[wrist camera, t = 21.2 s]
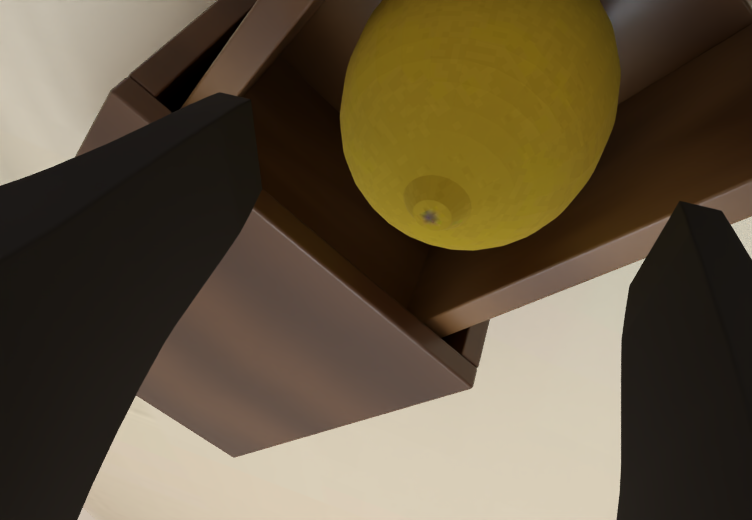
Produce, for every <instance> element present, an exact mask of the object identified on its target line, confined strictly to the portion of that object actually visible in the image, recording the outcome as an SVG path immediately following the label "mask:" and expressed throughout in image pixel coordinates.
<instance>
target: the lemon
mask: <svg viewBox="0 0 752 520" xmlns="http://www.w3.org/2000/svg"><path fill="white" fill-rule="evenodd" d="M620 79H621V68H620V61H619V56H618V50H617V45H616V40H615V34H614V29H613V26H612V24H611V21H610V19H609V17H608V15H607V13H606V12H605V10H604V8H603V6H602V4H601V2H600V0H382V1H381V3H380V4H379V5H378V6H377V7H376V9H375V10H374V11H373V12H372V14H371V16H370V17H369V19H368V21H367V23H366V25H365V27H364V29H363V31H362V34H361V36H360V38H359V40H358V42H357V44H356V46H355V48H354V51H353V53H352V55H351V57H350V61H349V64H348V67H347V71H346V76H345V82H344V88H343V95H342V102H341V109H340V127H341V136H342V144H343V152H344V155H345V158H346V161H347V164H348V166H349V169H350V171H351V174H352V176H353V179H354V182H355V184H356V185H357V187H358V188H359V190H360V191H361V192H362V194H363V195H364V197H365V198H366V200H367V201H368V202H369V204H370V205H371V206H372V208H373V209H374V210H375V211H376V212H377V213H379V214H380V215H381V216H382V217H383V218H384V219H385V220H386V221H387V222H388V223H389V224H391V225H392V226H394V227H395V228H397V229H398V230H400V231H401V232H403V233H404V234H406V235H408V236H410V237H412V238H415V239H417V240H419V241H422V242H424V243H427V244H429V245H433V246H438V247H442V248H447V249H451V250H472V251H474V250H481V249H487V248H494V247H500V246H504V245H507V244H510V243H512V242H515V241H518V240H520V239H523V238H526V237H528V236H529V235H531V234H533V233H535V232H536V231H538V230H539V229H541V228H542V227H544V226H545V225H547V224H548V223H549V222H551V221H552V220H554V219H555V218H557V217H558V216H559V215H560V214H561V213H562V212H563V211H564V210H565V209H566V208H567V206H568V205H569V204H570V203H571V202H572V200H573V199H574V198H575V197H576V196H577V194H578V193H579V192H580V191H581V190H582V188H583V187H584V186H585V184H586V183H587V182H588V180H589V179H590V177H591V175H592V174H593V172H594V170H595V168H596V166H597V164H598V162H599V160H600V157H601V155H602V153H603V150H604V148H605V146H606V143H607V141H608V139H609V136H610V134H611V132H612V129H613V126H614V123H615V118H616V113H617V105H618V96H619V88H620Z"/></svg>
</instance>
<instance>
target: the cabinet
mask: <svg viewBox="0 0 752 520" xmlns="http://www.w3.org/2000/svg"><path fill="white" fill-rule="evenodd" d="M256 1H257V0H218V1H217V2H215V3H214V4H213V5H212V6H211V7H209V8H208V9H207V10H206V11H205V12H203V13H202V14H201V15H200V16H199V17H197V18H196V19H195V20H194V21H193V22H191V23H190V24H189V25H188V26H187V27H185V28H184V29H183V30H182V31H181V32H179V33H178V34H177V35H176V36H175V37H173V38H172V39H171V40H170V41H169V42H167V43H166V44H165V45H164V46H163V47H161V48H160V49H159V50H158V51H157V52H155V53H154V54H153V55H152V56H151V57H149V58H148V59H147V60H146V61H145V62H143V63H142V64H141V65H140V66H139V67H137V68H136V69H135V70H134V71H133V72H131V73H130V74H129V76H128V77H127V78H125V79H124V80H123V81H121V82H120V83H119V84H118V85H117V86H115V87H114V88H113V89H112V90H111V91H110V93H109V94H108V96H107V98H106V100H105V102H104V104H103V106H102V108H101V109H100V111H99V113H98V115H97V117H96V119H95V121H94V122H93V124H92V126H91V128H90V130H89V132H88V134H87V136H86V137H85V139H84V141H83V143H82V145H81V147H80V149H79V150H78V152H77V154H76V156H75V157H77V156H79V155H82V154H84V153H86V152H89V151H91V150H93V149H96V148H98V147H100V146H103V145H105V144H107V143H110V142H112V141H114V140H116V139H118V138H120V137H123V136H125V135H127V134H129V133H131V132H133V131H135V130H137V129H139V128H142V127H144V126H146V125H148V124H150V123H152V122H154V121H156V120H158V119H160V118H163V117H165V116H167V115H169V114H171V113H173V112H175V111H177V110H179V109H180V108H181V107H182V106H183V104H184V103H185V101H186V100H187V99H188V97H189V96H190V94H191V93H192V91H193V90H194V89H195V87H196V86H197V84H198V83H199V82H200V80H201V79H202V77H203V76H204V75H205V73H206V72H207V70H208V69H209V67H210V66H211V65H212V63H213V62H214V60H215V59H216V58H217V56H218V55H219V53H220V52H221V51H222V49H223V48H224V46H225V45H226V43H227V42H228V41H229V39H230V38H231V36H232V35H233V34H234V32H235V31H236V29H237V28H238V27H239V25H240V24H241V22H242V21H243V19H244V18H245V17H246V15H247V14H248V12H249V11H250V10H251V8H252V7H253V5H254V4H255V3H256ZM489 321H490V319H488V320H486V321H483V322H481V323H478V324H476V325H473V326H471V327H468V328H465V329H463V330H460V331H458V332H455V333H453V334H450V335H448V336H445V337H442V338H440V337H439V336H438V335H437V334H436V333H434V332H433V331H432V330H431V329H430V328H428V327H427V326H426V325H425V324H424V323H422V322H421V321H420V320H419V319H418V318H417V317H415V316H414V315H413V314H412V313H411V312H409V311H408V310H407V309H406V308H405V307H403V306H402V305H401V304H400V303H399V302H397V301H396V300H395V299H394V298H393V297H392V296H390V295H389V294H388V293H387V292H386V291H384V290H383V289H382V288H381V287H380V286H378V285H377V284H376V283H375V282H374V281H372V280H371V279H370V278H369V277H368V276H367V275H365V274H364V273H363V272H362V271H361V270H359V269H358V268H357V267H356V266H355V265H353V264H352V263H351V262H350V261H349V260H348V259H346V258H345V257H344V256H343V255H342V254H340V253H339V252H338V251H337V250H336V249H334V248H333V247H332V246H331V245H330V244H328V243H327V242H326V241H325V240H324V239H323V238H321V237H320V236H319V235H318V234H317V233H315V232H314V231H313V230H312V229H311V228H309V227H308V226H307V225H306V224H305V223H303V222H302V221H301V220H300V219H299V218H298V217H296V216H295V215H294V214H293V213H292V212H290V211H289V210H288V209H287V208H286V207H284V206H283V205H282V204H281V203H280V202H278V201H277V200H276V199H275V198H274V197H273V196H271V195H270V194H269V193H268V192H267V191H265V190H264V189H263V188H262V190H261V192H260V195H259V197H258V199H257V201H256V203H255V205H254V207H253V209H252V211H251V213H250V215H249V217H248V219H247V221H246V223H245V225H244V227H243V228H242V230H241V232H240V234H239V235H238V237H237V238H236V240H235V241H234V243H233V244H232V246H231V247H230V249H229V250H228V252H227V253H226V254H225V256H224V257H223V259H222V260H221V262H220V263H219V265H218V266H217V267H216V269H215V270H214V272H213V273H212V274H211V276H210V277H209V279H208V280H207V282H206V283H205V284H204V286H203V287H202V289H201V290H200V291H199V293H198V294H197V296H196V297H195V299H194V300H193V301H192V303H191V304H190V306H189V307H188V308H187V310H186V311H185V313H184V314H183V316H182V317H181V318H180V320H179V321H178V323H177V324H176V326H175V327H174V329H173V330H172V332H171V334H170V335H169V337H168V338H167V340H166V341H165V343H164V345H163V346H162V348H161V350H160V352H159V354H158V356H157V357H156V359H155V361H154V363H153V365H152V366H151V368H150V370H149V372H148V374H147V376H146V377H145V379H144V381H143V383H142V385H141V386H140V388H139V390H138V392H137V394H136V396H138V397H140V398H141V399H143V400H144V401H146V402H147V403H149V404H151V405H152V406H154V407H155V408H157V409H158V410H160V411H161V412H163V413H165V414H166V415H168V416H169V417H171V418H172V419H174V420H176V421H177V422H179V423H180V424H182V425H183V426H185V427H186V428H188V429H190V430H191V431H193V432H194V433H196V434H197V435H199V436H201V437H202V438H204V439H205V440H207V441H208V442H210V443H212V444H213V445H215V446H216V447H218V448H219V449H221V450H222V451H224V452H226V453H227V454H229V455H230V456H232V457H238V456H241V455H245V454H248V453H252V452H255V451H258V450H262V449H265V448H269V447H272V446H276V445H279V444H283V443H286V442H289V441H293V440H296V439H300V438H303V437H307V436H310V435H313V434H317V433H320V432H324V431H327V430H331V429H334V428H337V427H341V426H344V425H348V424H351V423H355V422H358V421H361V420H365V419H368V418H372V417H375V416H379V415H382V414H386V413H389V412H392V411H396V410H399V409H403V408H406V407H410V406H413V405H416V404H420V403H423V402H427V401H430V400H434V399H437V398H440V397H444V396H447V395H451V394H454V393H458V392H461V391H464V390H468V389H471V388H472V387H473V384H474V380H475V376H476V372H477V367H478V366H479V362H480V358H481V353H482V349H483V345H484V341H485V337H486V333H487V329H488V325H489Z"/></svg>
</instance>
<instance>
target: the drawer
mask: <svg viewBox="0 0 752 520" xmlns="http://www.w3.org/2000/svg"><path fill="white" fill-rule="evenodd" d="M381 1H382V0H257V1H256V3H255V4H254V5H253V7H252V8H251V10H250V11H249V12H248V14H247V15H246V17H245V18H244V19H243V21H242V22H241V24H240V25H239V27H238V28H237V29H236V31H235V32H234V34H233V35H232V36H231V38H230V39H229V41H228V42H227V43H226V45H225V46H224V48H223V49H222V51H221V52H220V53H219V55H218V56H217V58H216V59H215V60H214V62H213V63H212V65H211V66H210V67H209V69H208V70H207V72H206V73H205V75H204V76H203V77H202V79H201V80H200V82H199V83H198V84H197V86H196V87H195V89H194V90H193V91H192V93H191V94H190V96H189V97H188V99H187V100H186V101H185V103H184V104H183V106H182V107H181V108H183V107H186V106H188V105H190V104H192V103H194V102H197V101H199V100H201V99H203V98H206V97H208V96H211V95H213V94H216V93H219V92H221V93H226V94H230V95H234V96H238V97H243V98H247V99H251V104H252V112H253V120H254V128H255V136H256V144H257V151H258V159H259V167H260V175H261V183H262V188H263V189H264V190H265V191H267V192H268V193H269V194H270V195H271V196H273V197H274V198H275V199H276V200H277V201H278V202H280V203H281V204H282V205H283V206H284V207H286V208H287V209H288V210H289V211H290V212H292V213H293V214H294V215H295V216H296V217H298V218H299V219H300V220H301V221H302V222H303V223H305V224H306V225H307V226H308V227H309V228H311V229H312V230H313V231H314V232H315V233H317V234H318V235H319V236H320V237H321V238H323V239H324V240H325V241H326V242H327V243H328V244H330V245H331V246H332V247H333V248H334V249H336V250H337V251H338V252H339V253H340V254H342V255H343V256H344V257H345V258H346V259H348V260H349V261H350V262H351V263H352V264H353V265H355V266H356V267H357V268H358V269H359V270H361V271H362V272H363V273H364V274H365V275H367V276H368V277H369V278H370V279H371V280H372V281H374V282H375V283H376V284H377V285H378V286H380V287H381V288H382V289H383V290H384V291H386V292H387V293H388V294H389V295H390V296H392V297H393V298H394V299H395V300H396V301H397V302H399V303H400V304H401V305H402V306H403V307H405V308H406V309H407V310H408V311H409V312H411V313H412V314H413V315H414V316H415V317H417V318H418V319H419V320H420V321H421V322H422V323H424V324H425V325H426V326H427V327H428V328H430V329H431V330H432V331H433V332H434V333H436V334H437V335H438V336H439V337H440V338H442V337H445V336H448V335H450V334H453V333H455V332H458V331H460V330H463V329H465V328H468V327H471V326H473V325H476V324H478V323H481V322H483V321H486V320H488V319H491V318H493V317H496V316H499V315H501V314H504V313H506V312H509V311H511V310H514V309H516V308H519V307H521V306H524V305H527V304H529V303H532V302H534V301H537V300H539V299H542V298H544V297H547V296H550V295H552V294H555V293H557V292H560V291H562V290H565V289H567V288H570V287H572V286H575V285H578V284H580V283H583V282H585V281H588V280H590V279H593V278H595V277H598V276H600V275H603V274H606V273H608V272H611V271H613V270H616V269H618V268H621V267H623V266H626V265H629V264H631V263H634V262H636V261H639V260H641V259H644V258H646V257H647V255H648V254H649V252H650V250H651V248H652V247H653V245H654V243H655V242H656V240H657V238H658V237H659V235H660V233H661V231H662V230H663V228H664V226H665V225H666V223H667V221H668V220H669V218H670V216H671V214H672V213H673V211H674V209H675V208H676V206H677V204H678V202H679V201H683V202H687V203H692V204H696V205H700V206H704V207H709V208H713V209H717V210H721V211H722V212H723V213H724V215H725V217H726V218H727V220H728V221H729V223H730V224H733V223H736V222H738V221H741V220H743V219H746V218H748V217H751V216H752V0H600V2H601V4H602V6H603V8H604V10H605V12H606V13H607V15H608V17H609V19H610V21H611V24H612V26H613V29H614V34H615V40H616V45H617V50H618V56H619V61H620V68H621V79H620V88H619V96H618V105H617V113H616V118H615V123H614V126H613V129H612V132H611V134H610V136H609V139H608V141H607V143H606V146H605V148H604V150H603V153H602V155H601V157H600V160H599V162H598V164H597V166H596V168H595V170H594V172H593V174H592V175H591V177H590V179H589V180H588V182H587V183H586V184H585V186H584V187H583V188H582V190H581V191H580V192H579V193H578V194H577V196H576V197H575V198H574V199H573V200H572V202H571V203H570V204H569V205H568V206H567V208H566V209H565V210H564V211H563V212H562V213H561V214H560V215H559V216H558V217H557V218H555V219H554V220H552V221H551V222H549V223H548V224H547V225H545V226H544V227H542V228H541V229H539V230H538V231H536V232H535V233H533V234H531V235H529V236H528V237H526V238H523V239H520V240H518V241H515V242H512V243H510V244H507V245H504V246H500V247H494V248H487V249H481V250H474V251H472V250H451V249H447V248H442V247H438V246H433V245H429V244H427V243H424V242H422V241H419V240H417V239H415V238H412V237H410V236H408V235H406V234H404V233H403V232H401V231H400V230H398V229H397V228H395V227H394V226H392V225H391V224H389V223H388V222H387V221H386V220H385V219H384V218H383V217H382V216H381V215H380V214H379V213H377V212H376V211H375V210H374V209H373V208H372V206H371V205H370V204H369V202H368V201H367V200H366V198H365V197H364V195H363V194H362V192H361V191H360V190H359V188H358V187H357V185H356V184H355V182H354V179H353V176H352V174H351V171H350V169H349V166H348V164H347V161H346V158H345V155H344V152H343V144H342V136H341V127H340V109H341V102H342V95H343V88H344V82H345V76H346V71H347V67H348V64H349V61H350V57H351V55H352V53H353V51H354V48H355V46H356V44H357V42H358V40H359V38H360V36H361V34H362V31H363V29H364V27H365V25H366V23H367V21H368V19H369V17H370V16H371V14H372V12H373V11H374V10H375V9H376V7H377V6H378V5H379V4H380V3H381ZM181 108H180V109H181Z"/></svg>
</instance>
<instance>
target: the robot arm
mask: <svg viewBox="0 0 752 520" xmlns="http://www.w3.org/2000/svg"><path fill="white" fill-rule="evenodd" d="M261 190H262V183H261V175H260V167H259V159H258V151H257V144H256V136H255V128H254V120H253V112H252V104H251V99H247V98H243V97H238V96H234V95H230V94H226V93H221V92H219V93H216V94H213V95H211V96H208V97H206V98H203V99H201V100H199V101H197V102H194V103H192V104H190V105H188V106H186V107H183V108H181V109H179V110H177V111H175V112H173V113H171V114H169V115H167V116H165V117H163V118H160V119H158V120H156V121H154V122H152V123H150V124H148V125H146V126H144V127H142V128H139V129H137V130H135V131H133V132H131V133H129V134H127V135H125V136H123V137H120V138H118V139H116V140H114V141H112V142H110V143H107V144H105V145H103V146H100V147H98V148H96V149H93V150H91V151H89V152H86V153H84V154H82V155H79V156H77V157H75V158H72V159H70V160H68V161H65V162H63V163H61V164H58V165H56V166H54V167H51V168H49V169H46V170H43V171H41V172H38V173H36V174H33V175H30V176H27V177H25V178H22V179H19V180H16V181H13V182H10V183H7V184H4V185H1V186H0V520H77V519H78V517H79V515H80V512H81V510H82V508H83V505H84V503H85V501H86V498H87V496H88V493H89V491H90V489H91V486H92V484H93V482H94V480H95V478H96V476H97V474H98V471H99V469H100V467H101V465H102V463H103V461H104V459H105V457H106V454H107V452H108V450H109V448H110V446H111V444H112V442H113V440H114V438H115V435H116V433H117V431H118V429H119V427H120V425H121V423H122V421H123V420H124V418H125V416H126V414H127V412H128V410H129V408H130V406H131V404H132V402H133V400H134V398H135V396H136V394H137V392H138V390H139V388H140V386H141V385H142V383H143V381H144V379H145V377H146V376H147V374H148V372H149V370H150V368H151V366H152V365H153V363H154V361H155V359H156V357H157V356H158V354H159V352H160V350H161V348H162V346H163V345H164V343H165V341H166V340H167V338H168V337H169V335H170V334H171V332H172V330H173V329H174V327H175V326H176V324H177V323H178V321H179V320H180V318H181V317H182V316H183V314H184V313H185V311H186V310H187V308H188V307H189V306H190V304H191V303H192V301H193V300H194V299H195V297H196V296H197V294H198V293H199V291H200V290H201V289H202V287H203V286H204V284H205V283H206V282H207V280H208V279H209V277H210V276H211V274H212V273H213V272H214V270H215V269H216V267H217V266H218V265H219V263H220V262H221V260H222V259H223V257H224V256H225V254H226V253H227V252H228V250H229V249H230V247H231V246H232V244H233V243H234V241H235V240H236V238H237V237H238V235H239V234H240V232H241V230H242V228H243V227H244V225H245V223H246V221H247V219H248V217H249V215H250V213H251V211H252V209H253V207H254V205H255V203H256V201H257V199H258V197H259V195H260V192H261ZM617 520H752V259H751V258H750V256H749V254H748V253H747V251H746V249H745V248H744V246H743V244H742V243H741V241H740V239H739V238H738V236H737V234H736V233H735V231H734V229H733V228H732V226H731V225H730V223H729V221H728V220H727V218H726V217H725V215H724V213H723V212H722V211H721V210H717V209H713V208H709V207H704V206H700V205H696V204H692V203H687V202H683V201H679V202H678V204H677V206H676V208H675V209H674V211H673V213H672V214H671V216H670V218H669V220H668V221H667V223H666V225H665V226H664V228H663V230H662V231H661V233H660V235H659V237H658V238H657V240H656V242H655V243H654V245H653V247H652V248H651V250H650V252H649V254H648V255H647V257H646V259H645V260H644V262H643V264H642V266H641V267H640V269H639V271H638V272H637V274H636V276H635V277H634V279H633V281H632V283H631V284H630V286H629V292H628V299H627V305H626V312H625V318H624V326H623V334H622V349H621V479H620V495H619V504H618V513H617Z"/></svg>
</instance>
